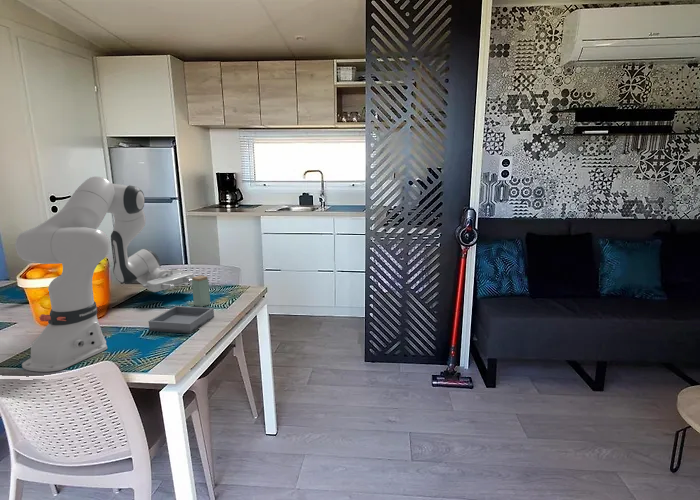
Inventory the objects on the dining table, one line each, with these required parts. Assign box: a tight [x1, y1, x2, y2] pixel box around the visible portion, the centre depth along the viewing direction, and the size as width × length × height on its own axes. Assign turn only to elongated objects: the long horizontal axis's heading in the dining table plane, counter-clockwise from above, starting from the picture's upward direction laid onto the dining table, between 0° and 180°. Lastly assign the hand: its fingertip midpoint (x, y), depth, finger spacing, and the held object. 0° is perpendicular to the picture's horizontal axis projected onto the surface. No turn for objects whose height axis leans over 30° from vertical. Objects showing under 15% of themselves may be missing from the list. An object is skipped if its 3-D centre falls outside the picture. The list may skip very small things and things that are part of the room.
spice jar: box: [191, 274, 211, 308], centre depth 166 cm, size 5×5×12 cm
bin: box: [147, 305, 215, 334], centre depth 147 cm, size 16×16×4 cm
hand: (182, 284), depth 173 cm, fingers open, 8 cm apart
